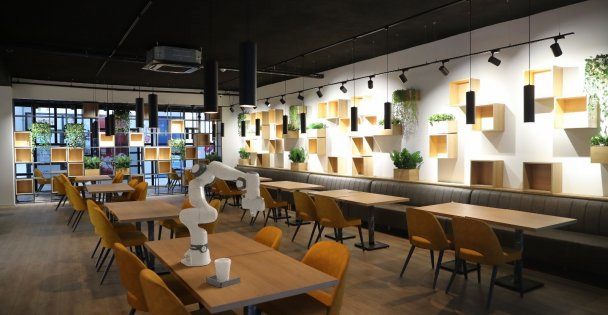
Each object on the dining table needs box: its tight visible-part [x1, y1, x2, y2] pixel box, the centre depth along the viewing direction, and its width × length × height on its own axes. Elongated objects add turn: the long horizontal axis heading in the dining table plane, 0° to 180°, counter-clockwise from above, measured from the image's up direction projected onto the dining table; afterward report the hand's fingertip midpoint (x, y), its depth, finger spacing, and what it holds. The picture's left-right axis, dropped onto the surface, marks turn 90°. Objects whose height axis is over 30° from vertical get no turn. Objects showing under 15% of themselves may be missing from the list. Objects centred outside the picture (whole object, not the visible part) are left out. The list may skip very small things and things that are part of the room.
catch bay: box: [205, 274, 241, 289], centre depth 247 cm, size 15×14×3 cm
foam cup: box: [214, 257, 232, 282], centre depth 248 cm, size 10×9×13 cm
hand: (253, 216), depth 278 cm, fingers closed
